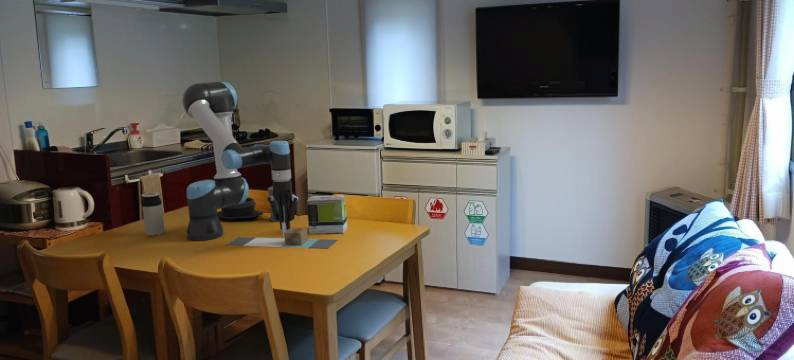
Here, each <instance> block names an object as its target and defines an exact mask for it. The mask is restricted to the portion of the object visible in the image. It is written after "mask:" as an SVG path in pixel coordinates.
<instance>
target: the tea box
mask: <svg viewBox="0 0 794 360" xmlns="http://www.w3.org/2000/svg"><path fill="white" fill-rule="evenodd" d="M346 202H347V201H346V195H345V194H337V195H312V196H311V197H309V198H308V199H307V200H306V208H307V209H306V210H307V221H308V232H309V233H308V234H309V235H310V234H344V233H345V231H346V230H347V229H348V218H347V217H348V216H347V204H346Z"/></svg>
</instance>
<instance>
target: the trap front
mask: <svg viewBox="0 0 794 360" xmlns="http://www.w3.org/2000/svg"><path fill="white" fill-rule="evenodd" d="M318 239H319V240H318V241H316V242H315V243H314V244H313V245H311V246H310V247H309V248H308V249H320V250H321V249H323V250H327V249H330V247H332V246H334V244H336V242H338V241H339V240H338V239H328V238H327V239H324V238H321V239H320V238H318Z"/></svg>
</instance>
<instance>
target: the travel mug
mask: <svg viewBox="0 0 794 360" xmlns="http://www.w3.org/2000/svg"><path fill="white" fill-rule="evenodd" d="M160 194H161V193H160V192H146V193H143V194H141V197H142V201H141V207H142V215H143V222H144V223H143V225H144V233H145V236H147V235H159V234H162V235H164V234H165V233H164V232H166V229H165V223H164V222H165V221H164V214H163V204H162V203H163V202H162V199H161V198H160ZM163 233H164V234H163ZM159 236H160V235H159Z"/></svg>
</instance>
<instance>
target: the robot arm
mask: <svg viewBox="0 0 794 360" xmlns="http://www.w3.org/2000/svg"><path fill="white" fill-rule="evenodd" d="M237 104H238V94H237V92H236V89H235V88H234V86H232V84H231V83H229V82H227V81H213V82H211V81H209V82H202V83H201V82H198V83H193V84H191V85H190V86H188V87H187V88H186V89H185V90H184V93H183V95H182V107H183V109H184V111H185V113H186V114H187V115H188V117H190V118H191V119H194V120H195V121H196V123H197V124H198V125H199V126H200V128H202V131H203V132H204V133H205V134H206V135H207V137H209V139H210V141H211V142H212V146H213V153H214V161H215V167H216V168H215V169H216V174H215V175H214V176H213V179H204V180H197V181H196V182H193V183H190V184H189V185H188V186H187V188H186V198H187V207H188V218H189V221H188V225H187V226H188V227H187V230H186V239H187V238H188V240H190V241H208V240H213V239H217V238H221V237H223V236H224V228H223V225H222V223H221V221H220V219H219V218H220V217H218V213H217V212H218V210H220V209H221V208H225V207H229V206H236V205H238V204H242V203H243V202H245V200H246V199H247V198H249V197H248V196H249V184H248V182H247V180H246V178H244V177H242V174H241V173H240V172H239V171H238V169H241V168H247V167H253V166H254V167H255V166H257V165H266V164H267V165H270V167H271V168H270V169H271V180H272V183H271V184H272V186H273V193H272V196H270V197H269V196H268V197H267V198H266V199H267V202H269V204H270V209H271V208H272V212H273V215H274V218H275V220H276V221H279V222H278V223H279V229H280V230H282V238H285V236H284V233H285V232H286V231H288V230H289V229H291V222H292V221H293V220H295V217H296V210H297V204H298V202H299V200H300V197H299V196H296V195H295V194H294V192H293V184H292V180H291V179H292V171H291V150H290V145H289V144H290V143H289V142H288V141H287V140H274V141H271V142H269V144H262V143H261V144H259V143H258V144H254V145H252V146H247V147H242V146H241V144H240V143H239V142H238V140H236V138H235V137H234V136H233V128H232V121H231V116H232V115H233V113H234V108H235V107H236V106H237ZM275 200H276V201H277V205H278V209H277V206H276V203H275ZM290 201H292V202H290ZM290 203H291V204H290ZM283 205H284V208H283ZM290 205H291V206H290ZM278 212H279V213H278ZM284 212H285V219H284ZM284 220H285V221H284Z"/></svg>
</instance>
